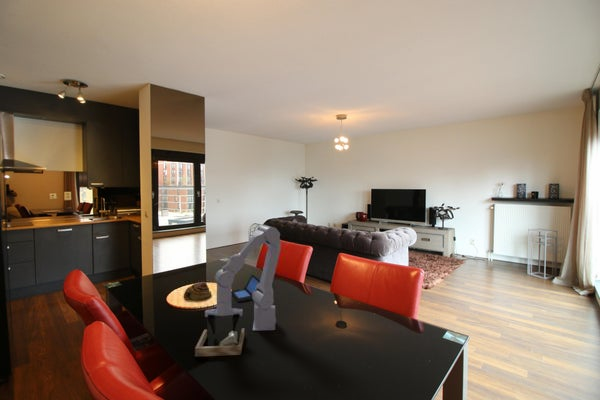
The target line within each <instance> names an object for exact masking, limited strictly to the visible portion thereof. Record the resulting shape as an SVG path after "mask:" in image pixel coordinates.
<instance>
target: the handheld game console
mask: <svg viewBox="0 0 600 400" xmlns="http://www.w3.org/2000/svg"><path fill="white" fill-rule="evenodd" d="M258 283H260V278H257V276H255V275H254V274H251V276H250V277H249V279H248V281H247V282H246V285H245V286H244V287H243V288H240V289H233V290H231V296H232V297H233V298H234V299H235V301H236V302H237V303H244V302H249V301H254V300H253V299H252V293H253V291H254V290H255V288H256V285H257V284H258Z"/></svg>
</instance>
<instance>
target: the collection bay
mask: <svg viewBox="0 0 600 400" xmlns="http://www.w3.org/2000/svg"><path fill="white" fill-rule="evenodd" d="M245 331H246V330H245V327H244V328H241V331H240V336H239V340H238V345H230V346H219V345H216V346H215V345H213V346H212V345H211V346H204V344H205V342H206V340H207V338H208V329H204V330H203V332H202V333H201V336H200V338H199V340H198V342H197V344H196V346H195V348H194V356H195V357H198V358H199V357H217V356H218V357H219V356H220V357H221V356H238V355H239V356H240V355H241V354H242V348H243V344H244V339H245V336H246V335H245V333H246V332H245Z"/></svg>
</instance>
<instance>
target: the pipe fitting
mask: <svg viewBox="0 0 600 400" xmlns="http://www.w3.org/2000/svg"><path fill="white" fill-rule="evenodd" d="M238 336H239V335H238V331H237V330H235V331H233V330H231V331H230V332H229V333H228V336H226V337H225V338H224V339H222V340H221V341H219V345H218V346H230V345H238V343H239V341H238V338H239V337H238Z"/></svg>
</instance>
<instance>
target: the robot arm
mask: <svg viewBox="0 0 600 400" xmlns="http://www.w3.org/2000/svg"><path fill="white" fill-rule="evenodd" d="M280 237H281V233H280V231H279V230H278V229H277V227H274V226H270V225H267V224H261V225H259V226H258V228H257V229H255V230H254V232H253V233H252V236H251V237H250V238H249V240H248V241H247V242H246V243H245V245H244V246H243V247H242V249H241V250H240V251H239V252H238V253H236V254H233V255H231V256H230V257H229V260H228V261H227V262H226V264H225V265H224V266H222V267H221V269H219V270H217V272H216V273H215V276H214V280H215V282H216V308H211V309H206V310H205V311H204V317H205V318H207V319H206V320H207V323H208V324H209V326H210V328H211V330H212V335H215V334H216V333H217V328H216V327H217V324H216V322H217V321H216V320H217V316H218V317H219V316H220V317H225V316H233V317H232V331H236V327H237V324H238V321H239V319H240V317H242V316H243V313H244V312H243V311H244V310H243V308H234V307H232V294H231V291H232V284H233V283H234V280H235V276H236V275H237V273H239V271H240V270H242V268H243V266H244V265H245V263H246V258H247V257H248V256H249V255H250V254H251V253H252V252H253V251H254V250H255V249H256V248H257V247H259V245H264V244H265V245H266V246H267V251H266V256H265V260H264V263H263V264H264V265H263V268H262V271H261V275H260V278H259V280H260V283H258V284H257V285H256V288H255V290H254V291H253V293H252V299H253V300H252V301H253V302H254V305H253V310H254V311H253V315H254V316H253V319H254V320H253V325H252V331H254V332H255V331H257V332H258V331H259V332H260V331H275V330H276V324H277V318H276V305H275V304H274V301H275V300H274V289H273V281H274V278H275V273H276V270H277V265H278V260H279V257H280V252H281V248H282V242H281V238H280ZM273 304H274V305H273Z"/></svg>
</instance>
